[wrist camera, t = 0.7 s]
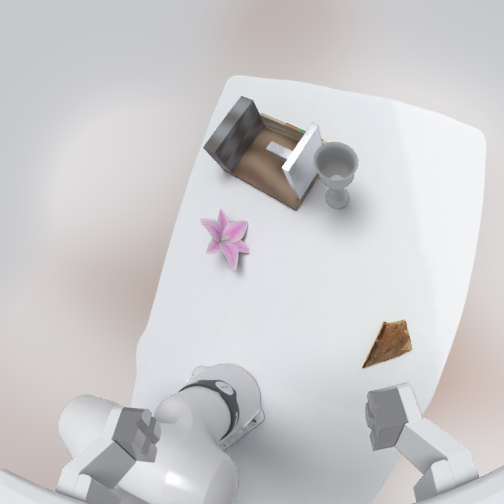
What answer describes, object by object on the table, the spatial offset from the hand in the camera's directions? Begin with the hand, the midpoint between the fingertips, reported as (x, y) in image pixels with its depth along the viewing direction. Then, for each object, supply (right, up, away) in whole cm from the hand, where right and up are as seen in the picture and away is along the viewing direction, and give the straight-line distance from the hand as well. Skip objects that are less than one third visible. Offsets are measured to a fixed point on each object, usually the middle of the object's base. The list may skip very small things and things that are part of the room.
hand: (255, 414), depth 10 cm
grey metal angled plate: (+9, +24, +55) cm, 60 cm away
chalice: (+18, +17, +54) cm, 59 cm away
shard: (+28, -13, +46) cm, 56 cm away
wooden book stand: (+5, +26, +58) cm, 64 cm away
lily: (-4, +8, +58) cm, 59 cm away
